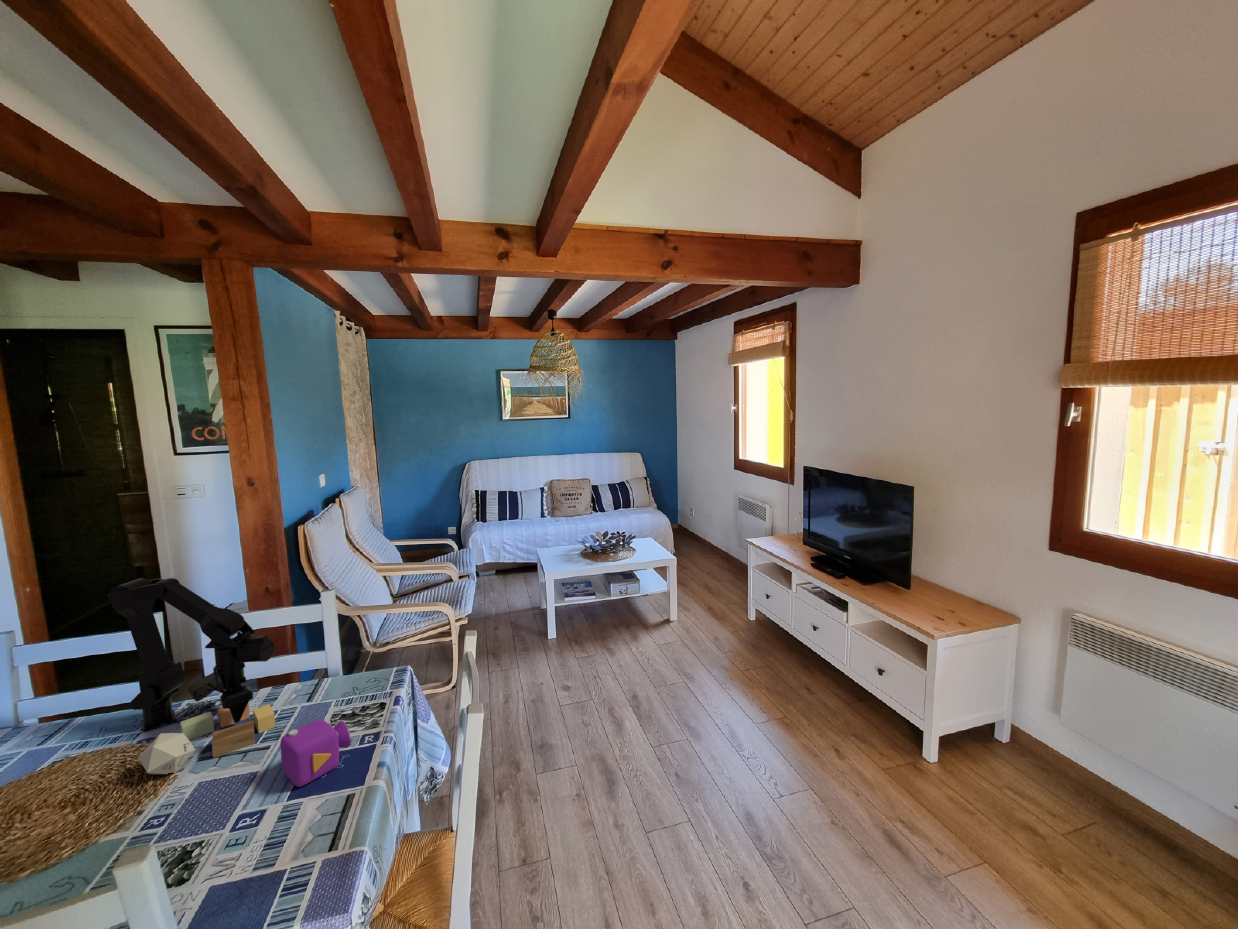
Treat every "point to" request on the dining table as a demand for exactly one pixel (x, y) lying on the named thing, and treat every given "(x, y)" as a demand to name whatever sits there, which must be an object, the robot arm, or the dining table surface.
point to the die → (166, 753)
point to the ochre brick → (264, 718)
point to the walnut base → (233, 738)
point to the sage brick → (197, 725)
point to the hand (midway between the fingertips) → (234, 715)
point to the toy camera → (312, 750)
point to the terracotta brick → (230, 716)
